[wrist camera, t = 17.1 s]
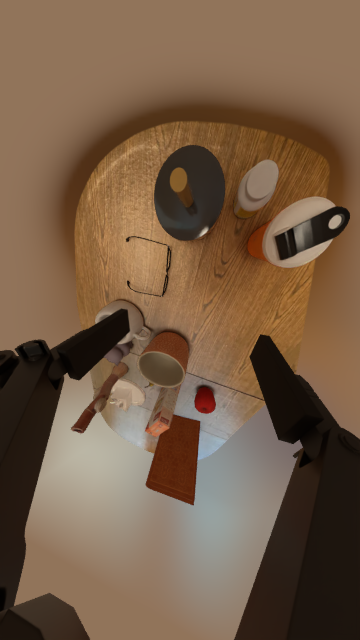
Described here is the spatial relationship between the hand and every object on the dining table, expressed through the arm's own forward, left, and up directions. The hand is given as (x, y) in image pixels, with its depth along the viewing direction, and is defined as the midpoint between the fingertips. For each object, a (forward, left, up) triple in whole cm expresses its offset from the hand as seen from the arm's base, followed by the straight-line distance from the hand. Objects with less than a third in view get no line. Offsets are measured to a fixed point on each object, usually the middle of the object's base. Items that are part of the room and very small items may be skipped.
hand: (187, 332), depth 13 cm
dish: (-7, +84, -33) cm, 90 cm away
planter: (-7, +30, -33) cm, 45 cm away
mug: (+13, +32, -33) cm, 48 cm away
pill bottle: (+3, -19, -33) cm, 38 cm away
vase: (+4, +64, -33) cm, 72 cm away
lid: (+13, -11, -23) cm, 29 cm away
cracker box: (-22, +54, -33) cm, 67 cm away
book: (-47, +78, -33) cm, 97 cm away
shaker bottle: (-6, -16, -33) cm, 37 cm away
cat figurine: (+10, +46, -33) cm, 57 cm away
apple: (-36, +42, -33) cm, 64 cm away
